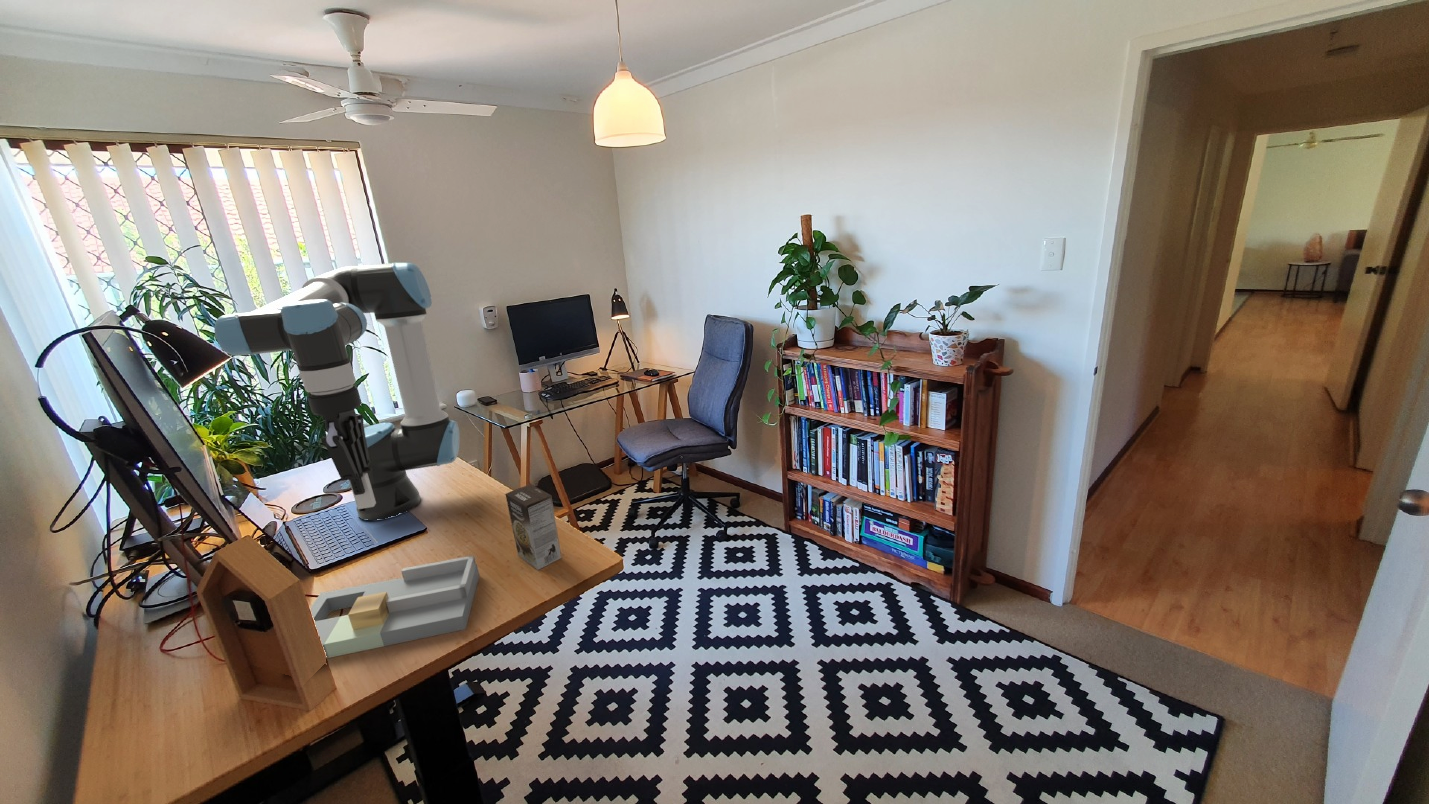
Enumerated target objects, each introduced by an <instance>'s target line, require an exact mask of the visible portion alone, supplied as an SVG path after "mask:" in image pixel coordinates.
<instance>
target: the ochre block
mask: <svg viewBox="0 0 1429 804" xmlns="http://www.w3.org/2000/svg"><path fill="white" fill-rule="evenodd" d="M387 599H389V597H388V594H387V592H383V593H378V594H372V595H367V596H362V597H358V598H357V600H356V601H355V603H354V605H353V607H350V608H351V609H350V610H349V611H348V614H347V615H348V616H349V619H350V622H351V625H352V628H353V630H357V629H362V628H367V627H372V626H377V625H382V624H384V621H385V619H386V617H387V615H388V613H389V611H388V607H387V604H386V601H387Z"/></svg>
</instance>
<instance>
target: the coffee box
mask: <svg viewBox="0 0 1429 804" xmlns="http://www.w3.org/2000/svg"><path fill="white" fill-rule="evenodd" d="M504 496H505V498H506V503H507V509H508V512H509V517H510V523H511V527H512V532H513V536H514V542H515V546H516V547H515V548H516V551H517V556H518V557H520V558H521V559H522V560H523V561H525V562H526V563H528V564H529V565H530V566H531V567H533V568H535V569H536V570H537V571H538V570H541V569H543V568H545V567H546V566H548V565H550V564H552V563H555V562H556V561H559V560H560V559H561V558H562V554H561V546H560V540H559V534H558V528H557V521H556V516H555V510H554V504H553V499H552V495H551V494H549V492H546V491H545V490H543V489H541V488H539V487H537V486H535V485H533V484H531V483H530V484H527V485H525V486H522V487H519V488H516V489H513V490H512V491H509V492H506V493H504Z"/></svg>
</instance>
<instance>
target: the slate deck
mask: <svg viewBox="0 0 1429 804" xmlns="http://www.w3.org/2000/svg"><path fill="white" fill-rule="evenodd" d="M478 567H479V566H478V564H477V562H476V557H475V554H474V555H469V556H464V557H458V558H452V559H446V560H441V561H437V562H430V563H423V564H418V565H414V566H410V567H409V566H408V567H403V568H402V569H401V571H400V572H401V575H402V577H399V578H394V579H393V578H392V579H388V580H381V581H378V582H371V583H366V584H361V585H357V586H349V587H345V588H340V589H336V590H330V591H322V592H320V593H319V595H318V596H317V598H315V601H314V602H313V604H312V605H311V607H310V608H311V612H312V616H313V618H314V620H315V625H316V628H317V630H318V634H319V636H320V638H321V643H322V645H323V647H324V650H325V652H326V656H327V658H326V659H328V658H333V657H339V656H344V655H348V654H353V653H358V652H363V651H368V650H373V649H377V648H382V647H387V646H392V645H397V644H401V643H406V642H410V641H416V640H420V639H425V638H430V637H435V636H438V635H439V636H440V635H445V634H448V633H454V632H459V631H464V630H466V628H467V625H468V621H469V618H470V613H471V610H472V606H473V603H474V602H473V601H474V598H475V594H476V590H477V587H478V583H479V579H480V573H479V568H478ZM383 592H387V594H388V597H389V599H387V601H386V604H387V607H388V611H389V613H388V615H387V617H386V619H385V621H384V624H382V625H377V626H372V627H367V628H362V629H357V630H353V628H352V625H351V622H350V619H349V616H348V614H346V615H341V616H335V617H332V618H328V616H329V615H330V613H331V612H332V611H338V610H342V609H347V608H352V607H353V605H354V603H355V601H356V600H357V598H358V597H362V596H367V595H372V594H378V593H383Z"/></svg>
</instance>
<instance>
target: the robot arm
mask: <svg viewBox="0 0 1429 804" xmlns="http://www.w3.org/2000/svg"><path fill="white" fill-rule="evenodd" d="M431 297H432V295H431V292H430V289H429V285H428V282H427V280H426V277H425V276H424V274H423V272H422V271H421V269H420V267H418V266H417V265H416V264H415V263H411V262H389V263H377V264H365V265H364V264H363V265H350V266H349V265H348V266H344V267H340V268H336V269H334V270H331V271H328V272H327V271H326V272H325V273H323V274H319V275H317V276H315V277H313V278H310V279H308V280H306V281H305V283H304V284H302V286H301V288H300V289H299V290H295V291H294V292H291V293H290V294H287V295H285V296H283V297H281V298H278V299H277V300H274V301H272V302H270V303H268V304H265V305H263V306H261V307H259V308H256V309H254V310H252V311H248V312H247V311H246V312H241V313H239V312H235V313H231V314H223V315H221V316H219V317H218V318H217V319H216V321H215V323H214V336H215V338H216V341H217V344H218V345H219V347H221V349H222V351H224V352H225V353H227V354H229V355H232V356H245V355H246V356H247V355H248V356H249V355H250V356H254V355H258V354H266V353H267V354H269V353H276V352H277V353H278V352H287V351H288V352H289V351H292V354H293V356H294V359H295V362H296V365H297V369H298V371H299V374H298V378H299V379H300V380H301V381H302V384H303V387H304V390H305V392H307V393H308V395H306V398H307V402H308V404H309V407H310V411H311V413H312V414H313V415H315V416H321V417H322V418H324V427H325V430H326V432H327V436H322V437H321V439H320V440H321V441H320V442H321V443H322V445H323V446H324V447H325V448H326V451H327V452H328V454H329V456H330V458H331V460H332V462H333V464H334V467H335V469H336V471H337V474H338V475H339V477H340V480H341V481H348V482H349V485H350V488H351V492H352V494H353V498H354V501H355V505H356V512H357V513H356V514H357V516H358V517H360V518H362V519H368V520H377V519H384V520H386V519H385V518H388V517H391V516H396V515H398V514H399V513H403V514H405V513H404V512H406V511H408V512H409V511H411V510H413V509H414V508H415V507H417V506H418V505H419V504H420V501H421V495H420V491H419V490H418V488H417V487H416V486H415V484H414V483H413V482H412V480H411V478H409V476H408V475H407V471H411V470H417V469H422V468H423V469H424V468H429V467H436V466H437V467H440V466H442V465H447V464H452V463H454V462H455V461H456V459H457V458H458V455H459V450H460V428H459V425H458V422H457V421H456V420H453V419H450V417H449V414H448V413H447V412H446V411H444V410H443V409H441V405H440V401H439V400H440V399H439V395H438V391H437V385H436V381H435V376H434V373H433V372H434V371H433V367H432V363H431V358H430V354H429V350H428V349H429V348H428V344H427V339H426V334H425V330H424V326H423V322H424V321H423V320H424V319H425V318H426V317H427V315H428V314H427V309H428V308H430V307H432V302H433V301H432V298H431ZM365 314H374V318H375V321H376V322H378V323H379V324H381V325H383V327H384V331H385V335H386V339H387V342H388V343H387V344H388V348H389V351H390V352H389V353H390V355H391V360H392V364H393V369H394V373H395V376H396V382H397V386H398V390H399V394H400V398H401V402H402V406H403V411H404V412H403V413H404V417H403V419H402V420H401V421H400V427H398V428H397V427H395V425H394V423H392V422H387V421H386V422H380V423H376V424H372V425H368V426H366V427H365V425H364V424H365V423H364V415H363V414H362V413H358V414H356V409H357V408H359V407H360V406H361V405H362V400H361V399H362V398H361V395H360V392H359V389H358V387H357V385H355V384H356V382H357V380H356V375H355V374H354V371H353V367H352V363H351V361H350V358H349V354H348V349H347V347H346V346H348V345H349V344H353V343H354V342H357V340H359V339H360V338H361V337H362V336H363V335H364V334H365V332H366V330H367V327H368V322H367V321H368V320H367V318H366V315H365ZM406 513H407V512H406ZM398 516H399V515H398ZM396 517H397V516H396ZM360 518H359V519H360ZM362 519H361V520H362Z"/></svg>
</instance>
